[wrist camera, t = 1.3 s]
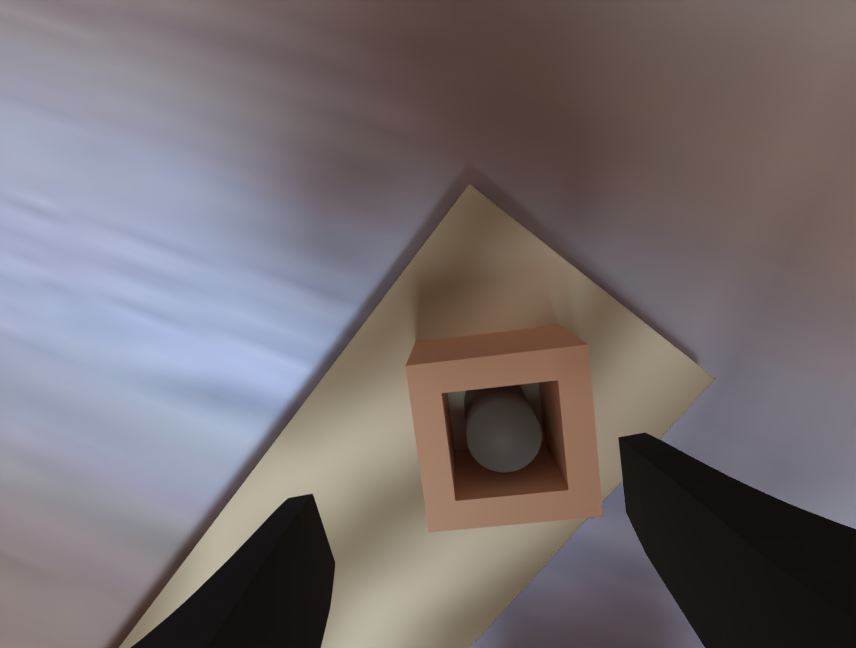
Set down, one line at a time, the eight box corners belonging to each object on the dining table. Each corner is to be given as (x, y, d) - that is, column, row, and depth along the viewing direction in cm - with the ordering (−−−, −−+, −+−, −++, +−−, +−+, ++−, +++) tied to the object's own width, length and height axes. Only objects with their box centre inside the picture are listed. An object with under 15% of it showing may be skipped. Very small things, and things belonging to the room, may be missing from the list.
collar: (559, 325, 18) (588, 344, 14) (571, 462, 19) (603, 516, 15) (415, 342, 19) (405, 365, 15) (433, 476, 20) (428, 532, 16)
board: (699, 370, 20) (778, 408, 15) (307, 804, 24) (271, 942, 19) (468, 188, 19) (473, 166, 14) (106, 665, 23) (17, 772, 18)
